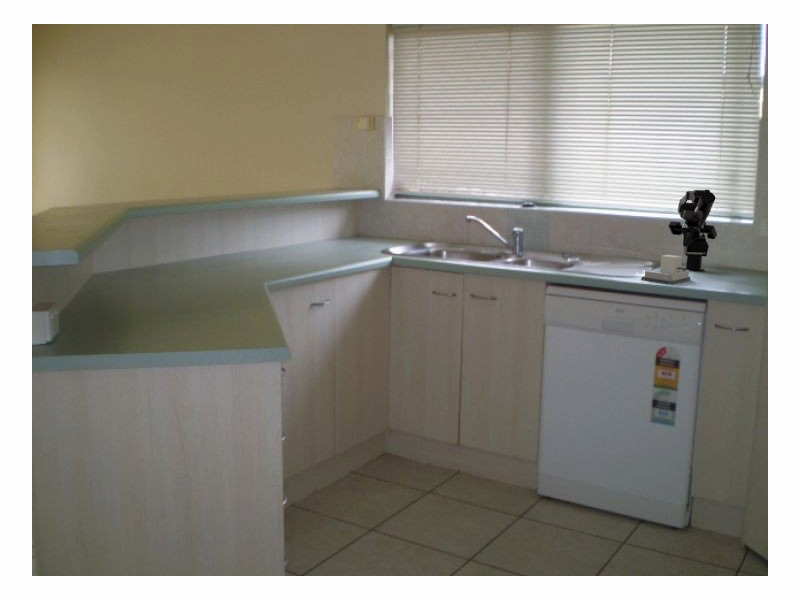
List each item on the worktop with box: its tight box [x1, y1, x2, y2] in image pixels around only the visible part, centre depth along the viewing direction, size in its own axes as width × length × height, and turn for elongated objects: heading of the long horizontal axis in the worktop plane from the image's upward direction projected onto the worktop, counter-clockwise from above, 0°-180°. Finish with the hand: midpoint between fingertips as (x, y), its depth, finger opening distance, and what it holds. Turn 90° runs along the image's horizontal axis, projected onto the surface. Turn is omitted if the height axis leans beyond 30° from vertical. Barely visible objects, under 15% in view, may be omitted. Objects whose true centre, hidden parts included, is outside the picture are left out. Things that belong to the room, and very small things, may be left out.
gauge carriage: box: [659, 254, 686, 274], centre depth 349 cm, size 5×9×8 cm, turn 45°
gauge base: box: [640, 270, 691, 285], centre depth 349 cm, size 14×13×4 cm
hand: (684, 246), depth 355 cm, fingers closed
